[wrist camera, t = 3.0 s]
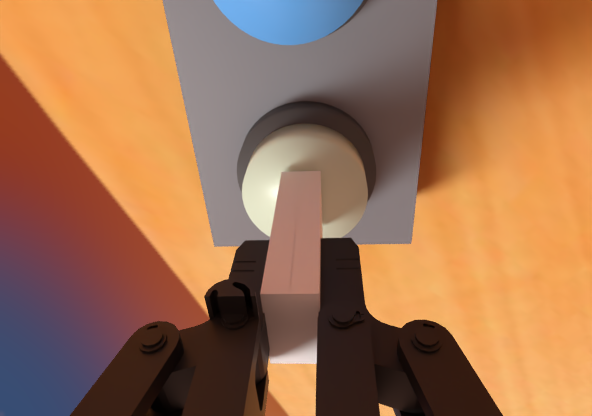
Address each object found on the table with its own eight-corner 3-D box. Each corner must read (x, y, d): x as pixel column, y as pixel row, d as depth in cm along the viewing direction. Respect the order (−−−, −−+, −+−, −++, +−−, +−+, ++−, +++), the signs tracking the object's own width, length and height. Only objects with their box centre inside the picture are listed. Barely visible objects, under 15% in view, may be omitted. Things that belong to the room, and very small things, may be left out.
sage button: (366, 121, 17) (369, 136, 15) (363, 225, 19) (366, 246, 18) (240, 125, 17) (233, 141, 16) (254, 227, 20) (249, 247, 18)
